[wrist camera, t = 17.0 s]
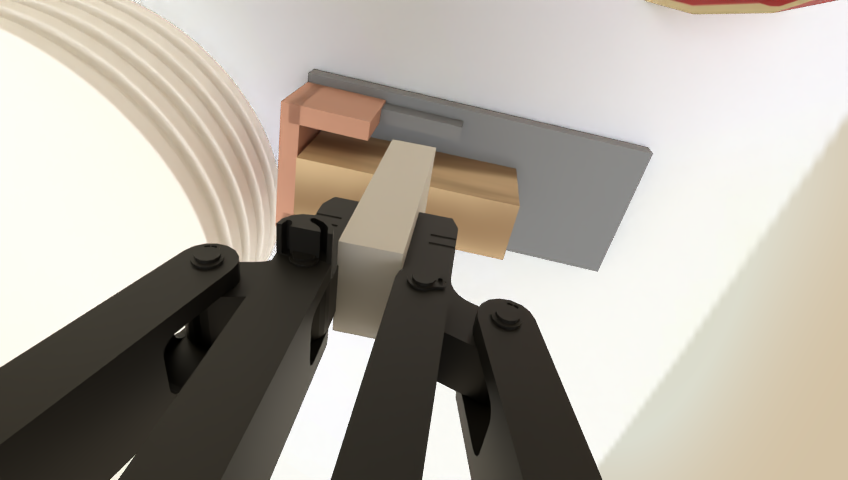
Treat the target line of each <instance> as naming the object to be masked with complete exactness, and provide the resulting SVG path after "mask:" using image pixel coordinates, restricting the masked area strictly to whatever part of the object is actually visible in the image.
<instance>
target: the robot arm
mask: <svg viewBox="0 0 848 480" xmlns="http://www.w3.org/2000/svg"><path fill="white" fill-rule="evenodd" d="M435 152H436V148H435V147H430V146H425V145H420V144H414V143H409V142H404V141H399V140H393V139H392V141H391V143H390V145H389V147H388V149H387V151H386V152H385V154H384V156H383V158H382V160H381V162H380V164H379V166H378V168H377V169H376V171H375V173H374V175H373V177H372V179H371V181H370V183H369V184H368V186H367V188H366V190H365V192H364V194H363V196H362V198H361V199H360V201H354V200H349V199H344V198H339V197H333V198H332V199H330V200H328V201H326V202H324V203H323V204H322V205H321V207H320V208H319V210H318V211H317V213H316V214H315V215H309V214H297V215H291V216H288V217H285V218H282V219H281V220H280V221H278V222H277V223H276V246H277V253H276V255H275V256H274V258H273V259H272V260H270V261H262V262H239V255H238V254H237V252H236V250H234V249H232V248H231V247H229V246H226V245H222V244H218V243H206V244H201V245H196V246H193V247H190V248H188V249H186V250H184V251H182V252H181V253H179V254H178V255H176V256H174V257H173V258H171V259H170V260H168V261H167V262H165V263H163V264H162V265H160V266H159V267H157V268H156V269H154V270H152V271H151V272H149V273H148V274H146V275H145V276H143V277H141V278H140V279H138V280H137V281H135V282H134V283H132V284H130V285H129V286H127V287H126V288H124V289H123V290H121V291H119V292H118V293H116V294H115V295H113V296H112V297H110V298H108V299H107V300H105V301H104V302H102V303H101V304H99V305H97V306H96V307H94V308H93V309H91V310H90V311H88V312H86V313H85V314H83V315H82V316H80V317H79V318H77V319H75V320H74V321H72V322H71V323H69V324H68V325H66V326H64V327H63V328H61V329H60V330H58V331H57V332H55V333H53V334H52V335H50V336H49V337H47V338H45V339H44V340H42V341H41V342H39V343H38V344H36V345H34V346H33V347H31V348H30V349H28V350H27V351H25V352H23V353H22V354H20V355H19V356H17V357H16V358H14V359H12V360H11V361H9V362H8V363H6V364H5V365H3V366H1V367H0V480H110V479H111V478H112V477H113V476H114V475H115V474H116V473H117V472H118V471H119V470H120V469H121V468H122V467H123V466H124V465H125V464H126V463H127V462H128V461H129V460H130V459H131V458H132V457H133V456H134V458H133V459H132V461H131V462H130V464H129V465H128V466H127V468H126V469H125V471H124V472H123V474H122V475H121V476H120V478H119V479H118V480H270V478H271V475H272V473H273V471H274V468H275V466H276V464H277V461H278V459H279V457H280V454H281V452H282V449H283V447H284V445H285V442H286V440H287V438H288V435H289V433H290V430H291V428H292V426H293V423H294V421H295V419H296V416H297V414H298V412H299V409H300V407H301V404H302V402H303V400H304V397H305V395H306V393H307V390H308V388H309V385H310V383H311V381H312V378H313V376H314V374H315V371H316V369H317V367H318V364H319V362H320V359H321V357H322V355H323V352H324V350H325V348H326V345H327V339H328V328H329V325H330V323H331V321H332V319H333V330H335V331H340V332H344V333H349V334H354V335H359V336H364V337H369V338H374V339H375V342H374V345H373V348H372V351H371V355H370V358H369V361H368V364H367V367H366V370H365V373H364V377H363V380H362V383H361V386H360V389H359V392H358V396H357V399H356V402H355V405H354V408H353V411H352V414H351V418H350V421H349V424H348V427H347V430H346V433H345V437H344V440H343V443H342V446H341V449H340V452H339V455H338V459H337V462H336V465H335V468H334V471H333V474H332V478H331V480H422V476H423V469H424V462H425V456H426V449H427V442H428V436H429V429H430V422H431V416H432V409H433V402H434V396H435V389H436V382H439V383H441V384H443V385H445V386H447V387H449V388H451V389H453V390H455V391H456V401H457V406H458V412H459V417H460V422H461V427H462V433H463V438H464V443H465V448H466V454H467V459H468V464H469V469H470V475H471V480H602V478H601V475H600V473H599V470H598V468H597V466H596V463H595V461H594V459H593V456H592V454H591V451H590V449H589V447H588V444H587V442H586V439H585V437H584V435H583V432H582V430H581V428H580V425H579V423H578V420H577V418H576V416H575V413H574V411H573V408H572V406H571V404H570V401H569V399H568V397H567V394H566V392H565V389H564V387H563V385H562V382H561V380H560V377H559V375H558V373H557V370H556V368H555V365H554V363H553V361H552V358H551V356H550V354H549V351H548V349H547V346H546V344H545V342H544V339H543V337H542V334H541V332H540V330H539V327H538V325H537V323H536V320H535V318H534V317H533V316H532V314H531V313H530V311H528V310H527V309H526V308H524V307H523V306H522V305H520V304H517V303H515V302H513V301H510V300H504V299H491V300H488V301H486V302H484V303H482V304H481V305H480V307H479V306H477V305H474V304H472V303H470V302H468V301H466V300H465V299H463V298H462V297H461V296H459V295H458V294H457V293H456V292H455V290H454V289H453V287H452V285H451V274H452V267H453V261H454V254H455V247H456V240H457V234H458V227H457V226H456V224H455V222H454V220H453V218H448V217H442V216H437V215H432V214H427V213H425V211H426V205H427V199H428V193H429V187H430V181H431V175H432V169H433V163H434V158H435ZM333 316H334V317H333ZM184 326H185V328H184V329H183V330H181V331H180V332H179V333H177V334H175V333H176V332H178V331H179V330H180V329H181V328H183V327H184ZM174 334H175V335H174Z"/></svg>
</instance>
